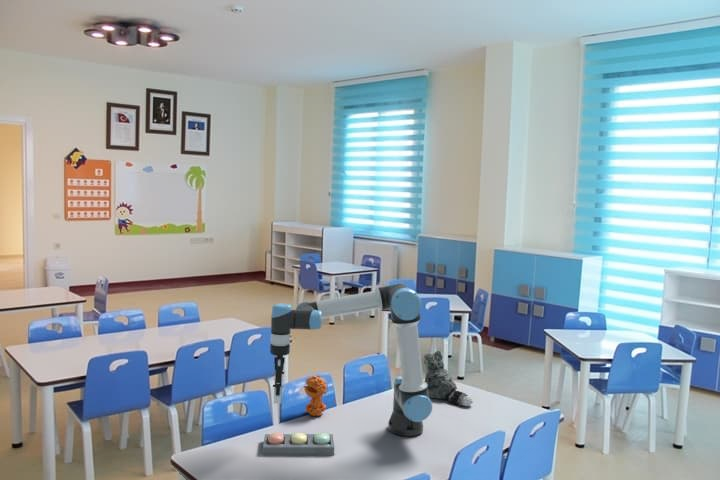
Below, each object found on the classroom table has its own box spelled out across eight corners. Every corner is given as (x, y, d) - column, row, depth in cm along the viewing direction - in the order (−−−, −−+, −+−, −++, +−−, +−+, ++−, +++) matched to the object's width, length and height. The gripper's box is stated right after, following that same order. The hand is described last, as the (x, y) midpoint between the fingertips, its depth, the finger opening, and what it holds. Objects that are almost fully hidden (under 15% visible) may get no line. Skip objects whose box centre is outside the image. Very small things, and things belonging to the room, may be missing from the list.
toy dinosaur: (302, 408, 271) (304, 370, 270) (326, 409, 272) (327, 371, 271) (302, 418, 260) (303, 378, 259) (327, 418, 261) (328, 379, 260)
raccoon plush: (426, 385, 312) (428, 346, 310) (481, 399, 294) (484, 358, 292) (412, 393, 299) (414, 352, 298) (469, 408, 282) (471, 365, 280)
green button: (329, 446, 228) (330, 439, 228) (314, 446, 228) (314, 439, 228) (329, 439, 234) (329, 433, 234) (314, 439, 234) (314, 433, 234)
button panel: (334, 454, 226) (334, 447, 226) (262, 454, 223) (262, 447, 223) (332, 441, 238) (332, 434, 237) (264, 441, 235) (264, 434, 235)
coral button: (283, 446, 227) (283, 439, 226) (267, 446, 226) (267, 439, 226) (283, 439, 233) (283, 433, 232) (268, 439, 232) (268, 433, 232)
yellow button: (306, 446, 227) (306, 439, 227) (291, 446, 227) (291, 439, 227) (306, 439, 233) (306, 433, 233) (291, 439, 233) (291, 433, 233)
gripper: (289, 352, 217) (287, 408, 219) (290, 335, 241) (288, 386, 243) (268, 352, 216) (266, 408, 218) (271, 335, 241) (269, 385, 242)
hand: (277, 396), depth 230 cm, fingers open, 13 cm apart
